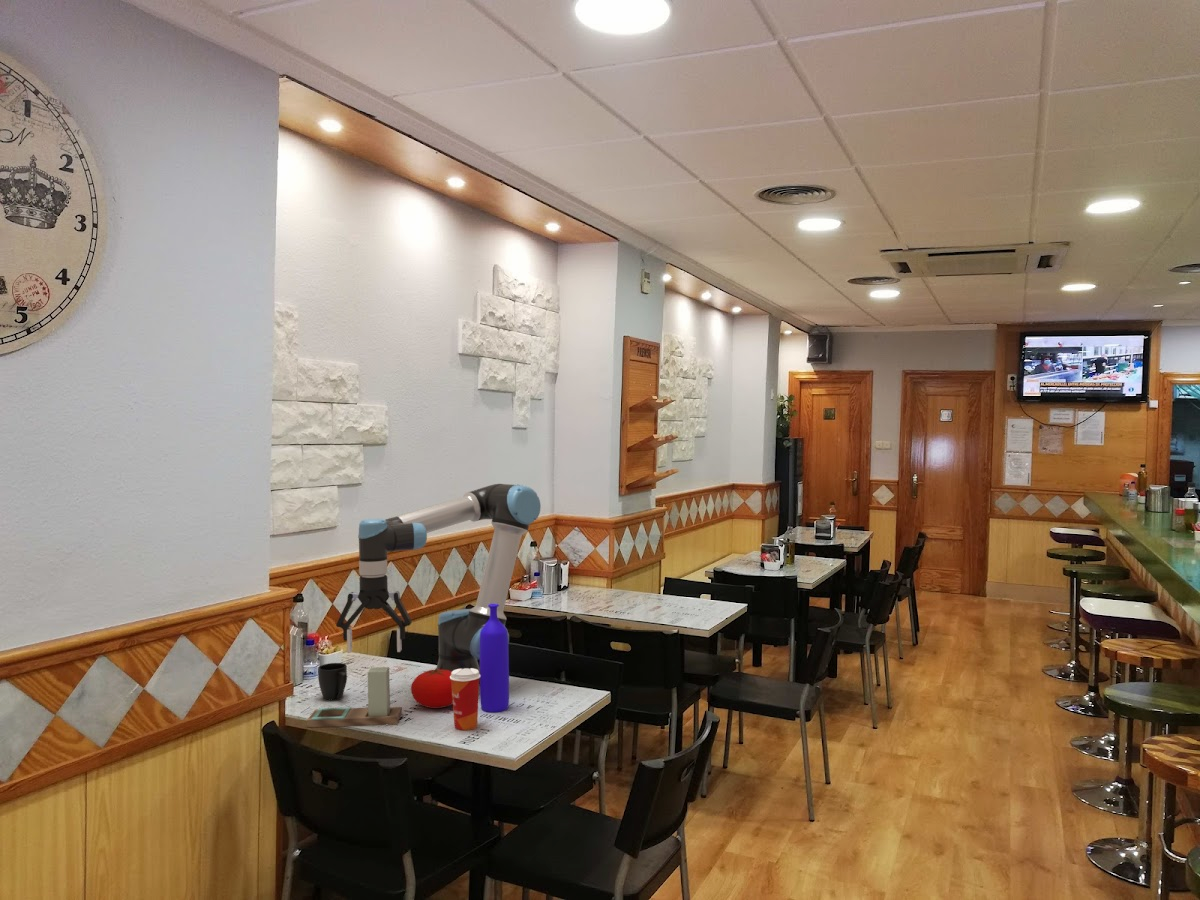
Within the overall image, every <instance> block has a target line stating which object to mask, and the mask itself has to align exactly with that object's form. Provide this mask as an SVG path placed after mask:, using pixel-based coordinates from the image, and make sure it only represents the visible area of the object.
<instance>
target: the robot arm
mask: <svg viewBox="0 0 1200 900" xmlns="http://www.w3.org/2000/svg"><path fill="white" fill-rule="evenodd" d="M541 508H542V507H541V500H540V498H539V496H538V494H537V492H536V491H535V490H534V489H533V488H531V487H530V486H527V485H523V484H522V485H521V484H507V483H496V484H495V483H494V484H491V485H487V486H484V487H481V488H480V487H479V488H477V489H474V490H471V491H468V492H465V493H464V494H463V496H462V497H459V498H454V499H451V500H448V501H445V502H441V503H438V504H435V505H431V506H428V507H425V508H421V509H417V510H412V511H411V512H407V513H404V514H400V515H397V516H393V517H392V516H391V517H389V518H385V519H384V518H368V519H363V520H360V522H359V526H358V535H357V537H358V552H359V553H358V555H359V556H358V557H359V558H358V559H359V560H358V561H359V562H358V565H359V566H358V567H359V569H358V573H359V575H360V577H359V593H354V592H353V591H352V592H350V593H348V595H347V601H346V603H345V605H344V608H343V610H342V611H341V614H340V616H339V618H338V619H337V622H336V623H335V625H336V628H341V630H342V631H343V632H342V635H343V636H342V637H343V638H342V639H343V641H346V646H347V647H346V650H347V651H346V654H351V653H352V651H353V627H350V626H351V624H352V623H353V622H354V621H355V620H356V619H357V618H358V616H359V615H360V614H361V613H362V611H363V610H364V609H367V610H374V609H375V610H380V609H382V610H383V611H385V612H386V614H387V615H388V616H389V617H390V618H391V619H392V620H393V621H394V622H395V624H396V625H397V626H398V627H397V628H396V650H397V651H396V652H397V653H401V651H402V650H403V649H402V646H403V645H402V644H403V643H402V640H405V638H406V627H407V626H410V625H411V624H412V622H413V621H412V619H411V617H410V615H409V613H408V611H407V609H406V607H405V606H404V603H403V602H402V600H401V595H400V592H399V591H395V592H389V590H388V585H389V584H388V576H387V573H388V553H392V552H393V553H394V552H402V551H414V550H419V549H422V548H424V547H425V545H426V544H427V541H428V534H429V533H431V532H435V531H438V530H440V529H444V528H448V527H451V526H454V525H457V524H460V523H463V522H467V521H471V522H473V523H475V522H478V521H482V520H491V526H492V527H493V528H494V530H493V531H494V532H493V536H492V539H491V543H490V548H489V552H488V555H487V559H486V564H485V567H484V571H483V576H482V578H481V584H480V587H479V591H478V596H477V600H476V602H475V603H476V604H475V606H473V607H472V608H464V609H462V608H461V609H460V608H459V609H454V610H447V611H443V612H441V613H440V614H439V615H438V621H437V627H438V629H437V630H438V631H437V633H438V635H437V636H438V661H437V665H436V667H435V669H443V670H449V671H451V672H452V671H454V670H456V669H461V668H462V669H464V668H468V669H470V668H474V669H477V670H478V671H479V674H480V664H479V662H478V660H480V632H481V630H482V628H483V627H484V625H485V624H486V623H487V622H488V620H489V619H490V607H488V605H489V604H498V605H499V606H498V607H497V617H498V620H499V621H500V622H501V623H502V624H503V625H504V627H505V628H506V630H507V633H508V643H509V642H510V634H509V632H508V629H507V627H506V622H507V616H506V615H505V613H504V609H505V605H506V601H507V597H508V593H509V589H510V585H511V581H512V577H513V574H514V573H513V572H514V569H515V565H516V560H517V557H518V556H517V555H518V553H519V547H520V544H521V540H522V536H523V535H525V534H526V533H528V531H529V527H530V525H531V524H532V523H534V522H535V521H536V520H538V518H539V516H540V513H541ZM390 598H391V600H392V601H393V602H394V604H395V605H396V608H397V609H398V611H399V614H400V615H401V617H402V618H401V617H400V615H399V614H398V613H397V612H396V611H395V610H394V609H393V608H392V606H391V604H389V603H388V600H389V599H390ZM356 600H359V602H360V603H361V604H360V605H359V606H357V609H356V610H355V611H354V612H353V613H352V615H351V616H350V617H349V618H348V619H347V621H345V619H346V617H347V616H348V613H349V611H350V609H351V606H352V605H353V603H354V602H355V601H356ZM344 621H345V622H344ZM479 686H480V678H479Z"/></svg>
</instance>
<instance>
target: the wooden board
mask: <svg viewBox="0 0 1200 900" xmlns="http://www.w3.org/2000/svg"><path fill="white" fill-rule="evenodd" d="M402 715H403V706H390V715H389V716H372V717H368V707H351V706H347V707H345V706H344V707H319V708H318V709H317V708H315V709H314V710H313V712H312V713H311V714H310V715H309V717H308V718H307V719H306V727H307V728H323V727H324V728H325V727H326V728H329V727H332V728H333V727H355V726H359V727H360V726H361V727H363V726H386V724H388V725H387V726H389V725H390V726H391V725H392V726H393V725H397V724H398V723H399V721H400V719H401V717H402Z"/></svg>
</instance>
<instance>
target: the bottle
mask: <svg viewBox="0 0 1200 900" xmlns="http://www.w3.org/2000/svg"><path fill="white" fill-rule="evenodd" d="M498 606H499V605H498V604H489V605H488V607H490V619H489V620H488V622H487V623H486V624H485V625H484V627H483V628H482V630H481V632H480V659H479V668H480V685H479V693H480V694H479V695H480V696H479V697H480V708H481V710H482V711H483V712H486V713H500V712H504V711H506V710H508V708H509V705H510V661H509V660H510V657H509V651H510V650H509V642H508V633H509V632H508V631H507V630H508V629H507V630H506V628H507V627H506V626H505V627H506V628H505V627H504V625H503V624H502V623H501V622H500V621H499V620H498V617H497V607H498ZM507 632H508V633H507Z"/></svg>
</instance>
